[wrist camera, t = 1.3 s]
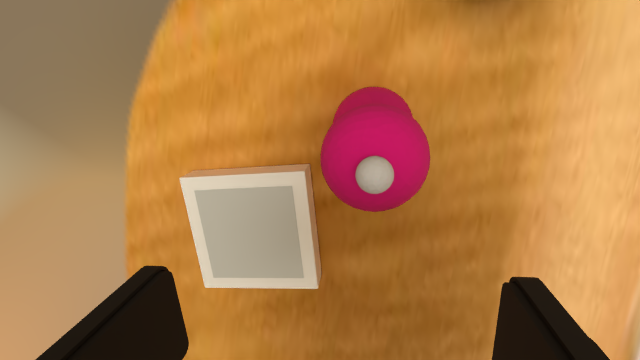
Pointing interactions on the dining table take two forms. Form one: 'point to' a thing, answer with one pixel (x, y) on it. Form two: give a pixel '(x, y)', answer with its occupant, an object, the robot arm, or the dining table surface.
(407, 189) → the pepper mill
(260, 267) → the stand
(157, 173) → the dining table surface
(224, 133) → the dining table surface
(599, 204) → the dining table surface
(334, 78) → the dining table surface
